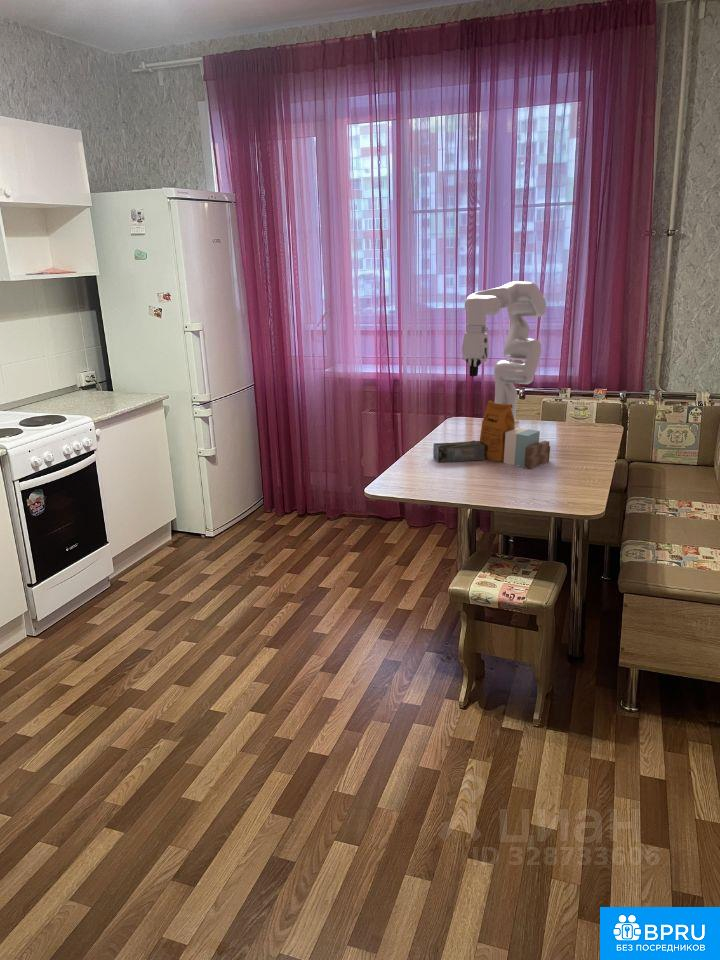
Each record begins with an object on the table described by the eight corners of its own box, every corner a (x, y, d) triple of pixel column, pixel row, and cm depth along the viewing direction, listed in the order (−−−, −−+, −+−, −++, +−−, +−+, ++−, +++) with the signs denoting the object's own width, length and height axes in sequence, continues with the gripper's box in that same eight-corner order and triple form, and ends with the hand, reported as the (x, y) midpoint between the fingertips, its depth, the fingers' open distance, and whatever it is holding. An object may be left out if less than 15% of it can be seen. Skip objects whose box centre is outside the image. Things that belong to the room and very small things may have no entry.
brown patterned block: (504, 452, 295) (505, 432, 293) (549, 461, 282) (550, 441, 280) (483, 459, 285) (484, 439, 282) (528, 469, 272) (530, 448, 269)
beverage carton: (432, 457, 288) (432, 441, 286) (479, 455, 291) (480, 439, 289) (437, 463, 280) (438, 446, 278) (486, 460, 283) (487, 444, 281)
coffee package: (491, 452, 295) (494, 398, 288) (515, 458, 286) (519, 403, 279) (474, 456, 289) (477, 401, 282) (499, 463, 280) (502, 406, 273)
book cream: (515, 457, 287) (517, 427, 284) (526, 459, 285) (528, 429, 281) (503, 463, 280) (505, 432, 276) (514, 465, 277) (516, 434, 274)
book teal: (526, 459, 285) (528, 429, 281) (537, 461, 282) (539, 431, 279) (514, 465, 277) (516, 434, 274) (525, 467, 275) (527, 435, 271)
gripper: (497, 330, 287) (494, 377, 293) (465, 327, 297) (463, 372, 302) (486, 331, 282) (484, 379, 287) (454, 328, 291) (452, 375, 297)
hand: (473, 375), depth 295 cm, fingers closed
